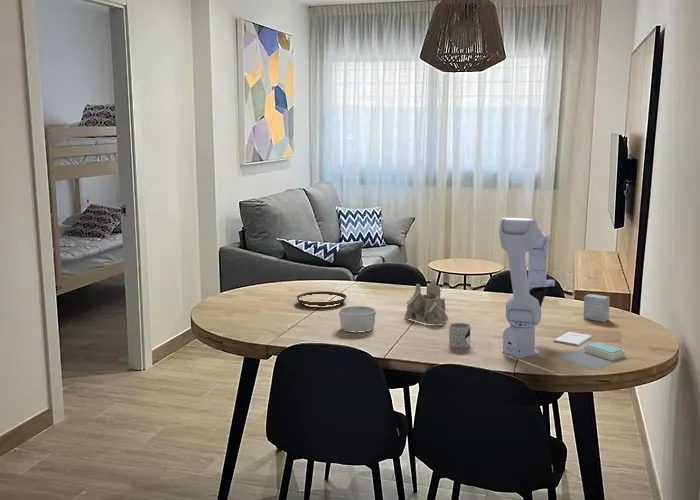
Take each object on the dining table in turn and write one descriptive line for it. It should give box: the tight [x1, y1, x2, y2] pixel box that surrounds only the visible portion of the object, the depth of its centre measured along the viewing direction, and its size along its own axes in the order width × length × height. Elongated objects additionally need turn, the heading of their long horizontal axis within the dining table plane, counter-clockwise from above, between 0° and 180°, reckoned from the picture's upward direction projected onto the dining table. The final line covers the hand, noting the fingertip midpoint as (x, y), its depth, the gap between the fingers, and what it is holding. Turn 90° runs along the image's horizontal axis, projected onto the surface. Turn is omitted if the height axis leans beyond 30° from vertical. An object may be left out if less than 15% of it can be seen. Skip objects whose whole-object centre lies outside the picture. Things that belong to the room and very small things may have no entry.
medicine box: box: [583, 293, 611, 323], centre depth 248 cm, size 8×4×9 cm, turn 47°
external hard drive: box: [552, 331, 593, 347], centre depth 224 cm, size 2×8×12 cm
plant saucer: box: [296, 290, 347, 306], centre depth 280 cm, size 21×21×3 cm
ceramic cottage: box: [404, 278, 449, 325], centre depth 251 cm, size 16×16×15 cm
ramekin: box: [338, 305, 377, 332], centre depth 241 cm, size 13×13×7 cm
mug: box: [448, 322, 471, 349], centre depth 222 cm, size 10×7×7 cm
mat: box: [553, 348, 633, 371], centre depth 205 cm, size 18×14×1 cm
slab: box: [583, 341, 626, 360], centre depth 208 cm, size 2×10×6 cm
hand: (536, 309), depth 224 cm, fingers closed
